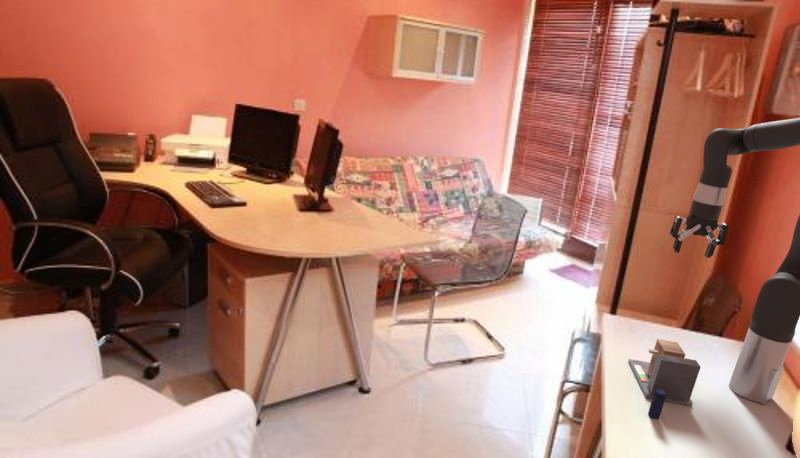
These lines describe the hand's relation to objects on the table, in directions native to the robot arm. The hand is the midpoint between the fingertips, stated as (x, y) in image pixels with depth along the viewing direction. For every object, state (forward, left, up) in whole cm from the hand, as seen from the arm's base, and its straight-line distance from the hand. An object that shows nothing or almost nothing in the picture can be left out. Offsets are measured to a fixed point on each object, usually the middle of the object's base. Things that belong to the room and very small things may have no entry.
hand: (691, 254), depth 156 cm
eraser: (-19, +41, -28) cm, 53 cm away
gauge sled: (-12, +27, -27) cm, 40 cm away
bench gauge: (-12, +26, -28) cm, 40 cm away
